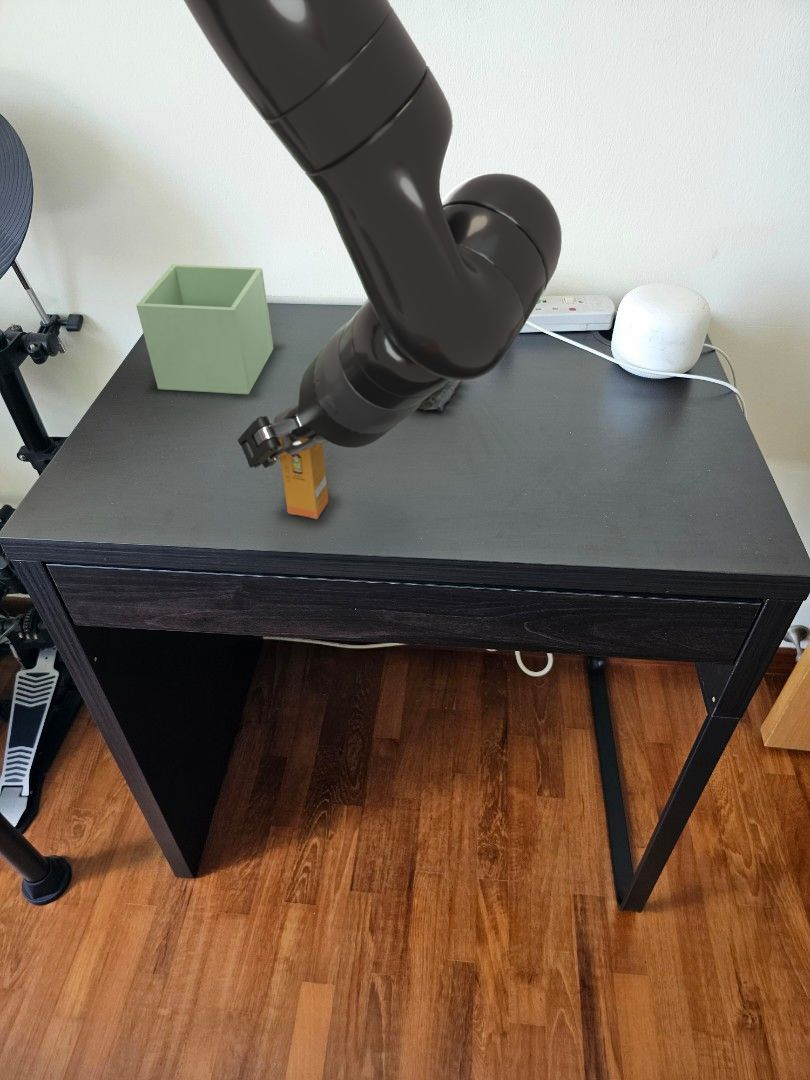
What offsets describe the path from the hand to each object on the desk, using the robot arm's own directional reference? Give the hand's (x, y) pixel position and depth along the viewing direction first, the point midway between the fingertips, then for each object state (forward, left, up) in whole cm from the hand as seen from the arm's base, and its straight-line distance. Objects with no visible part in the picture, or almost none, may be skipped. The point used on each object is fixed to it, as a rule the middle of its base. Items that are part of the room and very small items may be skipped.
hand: (305, 439), depth 71 cm
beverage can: (+19, +16, -9) cm, 26 cm away
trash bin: (-2, +32, -9) cm, 33 cm away
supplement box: (0, +1, -9) cm, 9 cm away
